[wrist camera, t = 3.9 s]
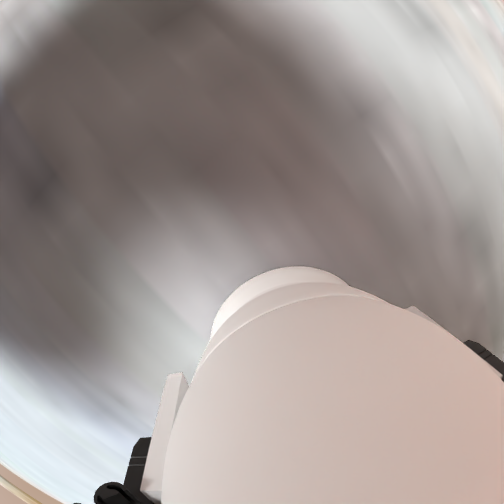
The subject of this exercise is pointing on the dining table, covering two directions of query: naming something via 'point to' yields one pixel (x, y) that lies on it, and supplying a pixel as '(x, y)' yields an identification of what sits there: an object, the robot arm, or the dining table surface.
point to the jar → (334, 404)
